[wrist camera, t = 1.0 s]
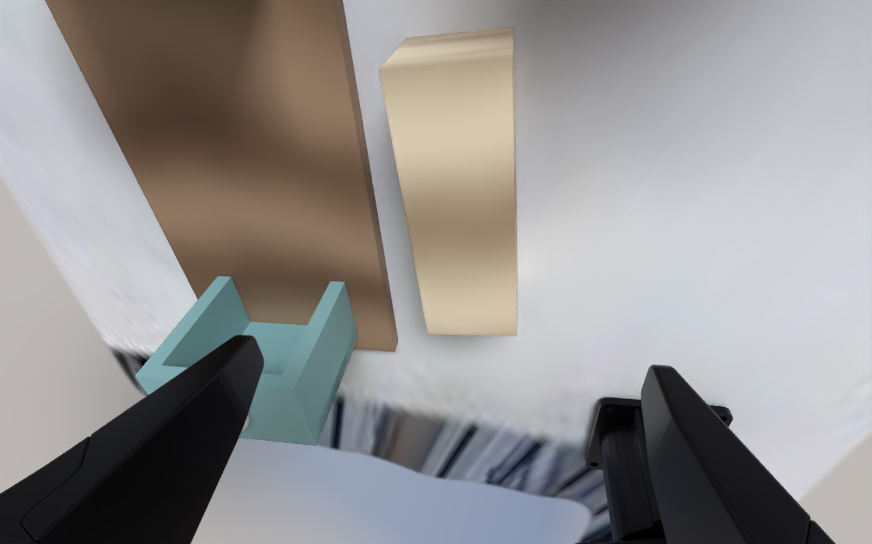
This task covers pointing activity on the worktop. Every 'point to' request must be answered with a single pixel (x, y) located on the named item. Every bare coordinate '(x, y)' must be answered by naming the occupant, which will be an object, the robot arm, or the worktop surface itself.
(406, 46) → the wooden block
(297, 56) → the board
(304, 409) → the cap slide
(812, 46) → the worktop surface
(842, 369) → the worktop surface
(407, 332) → the worktop surface
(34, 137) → the worktop surface
